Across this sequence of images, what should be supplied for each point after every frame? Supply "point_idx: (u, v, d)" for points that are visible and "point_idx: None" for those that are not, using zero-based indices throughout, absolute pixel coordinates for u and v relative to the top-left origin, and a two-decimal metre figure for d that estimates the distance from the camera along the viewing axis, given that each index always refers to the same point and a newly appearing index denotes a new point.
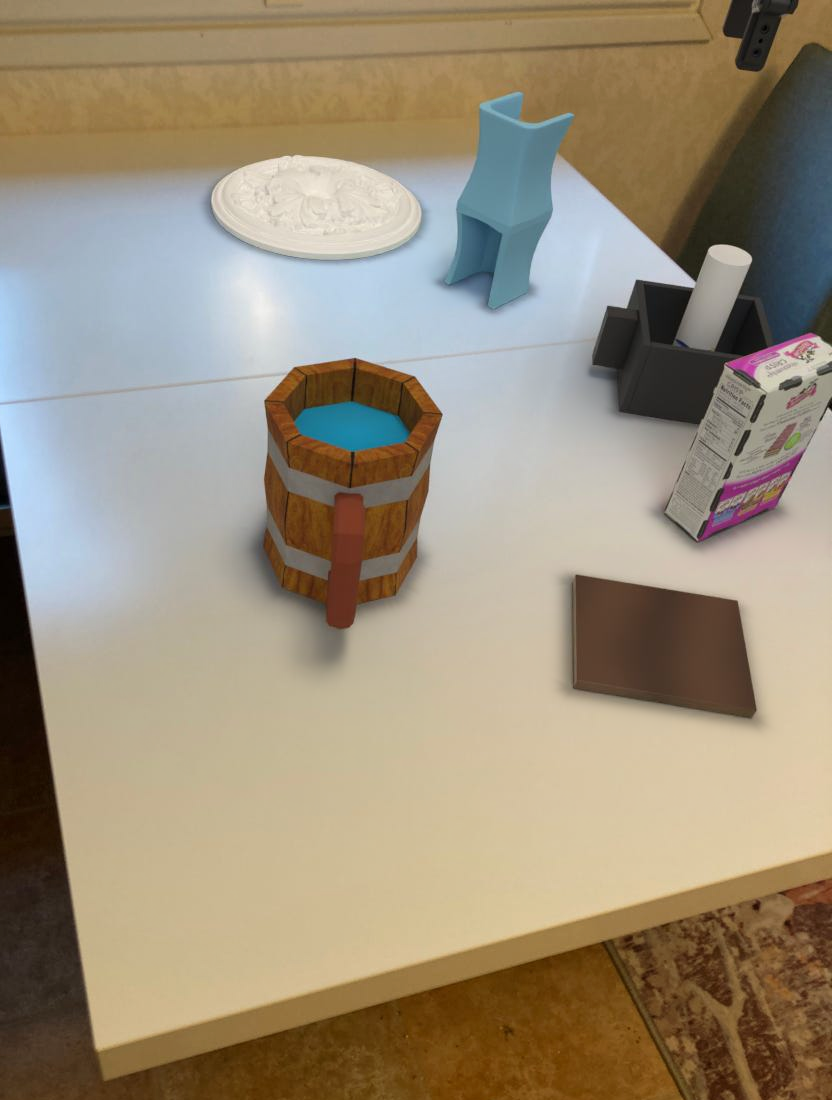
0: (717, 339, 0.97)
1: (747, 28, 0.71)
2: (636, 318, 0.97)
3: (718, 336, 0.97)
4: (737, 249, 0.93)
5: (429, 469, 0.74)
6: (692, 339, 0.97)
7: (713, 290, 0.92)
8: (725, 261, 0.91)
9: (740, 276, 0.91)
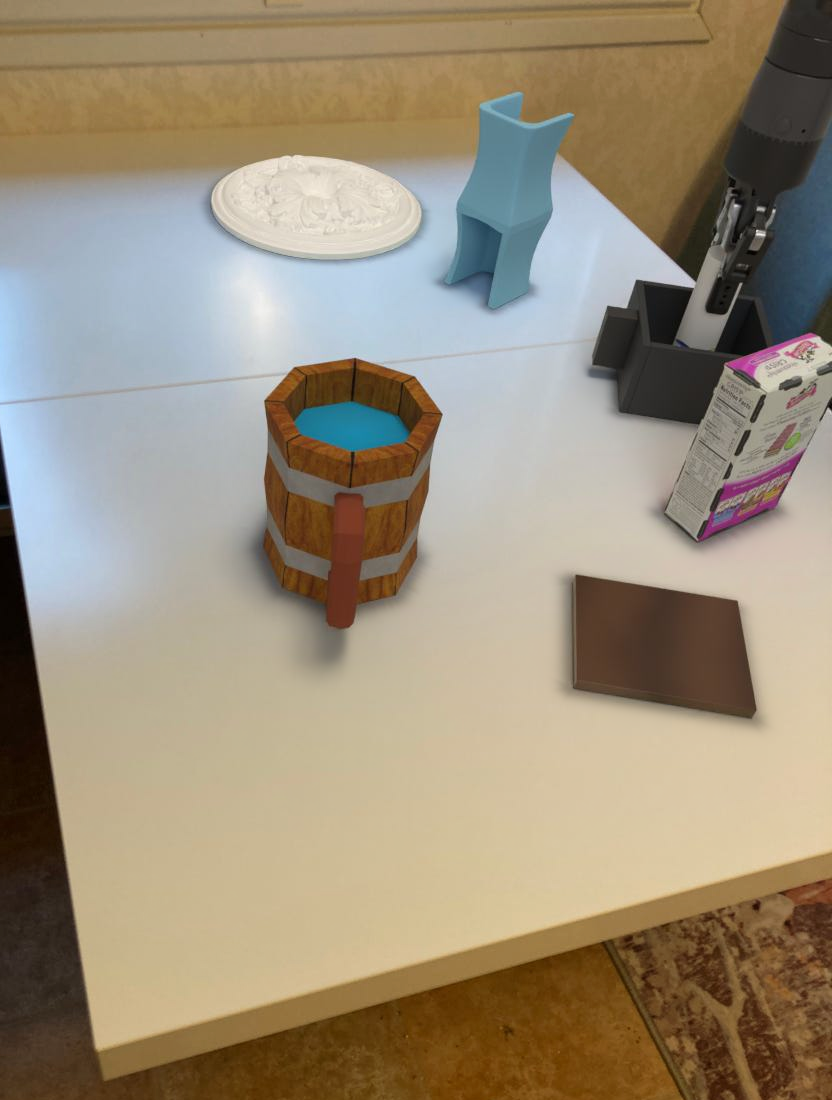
0: (717, 339, 0.97)
1: (714, 286, 0.91)
2: (636, 318, 0.97)
3: (718, 336, 0.97)
4: None
5: (429, 469, 0.74)
6: (693, 339, 0.97)
7: None
8: None
9: None
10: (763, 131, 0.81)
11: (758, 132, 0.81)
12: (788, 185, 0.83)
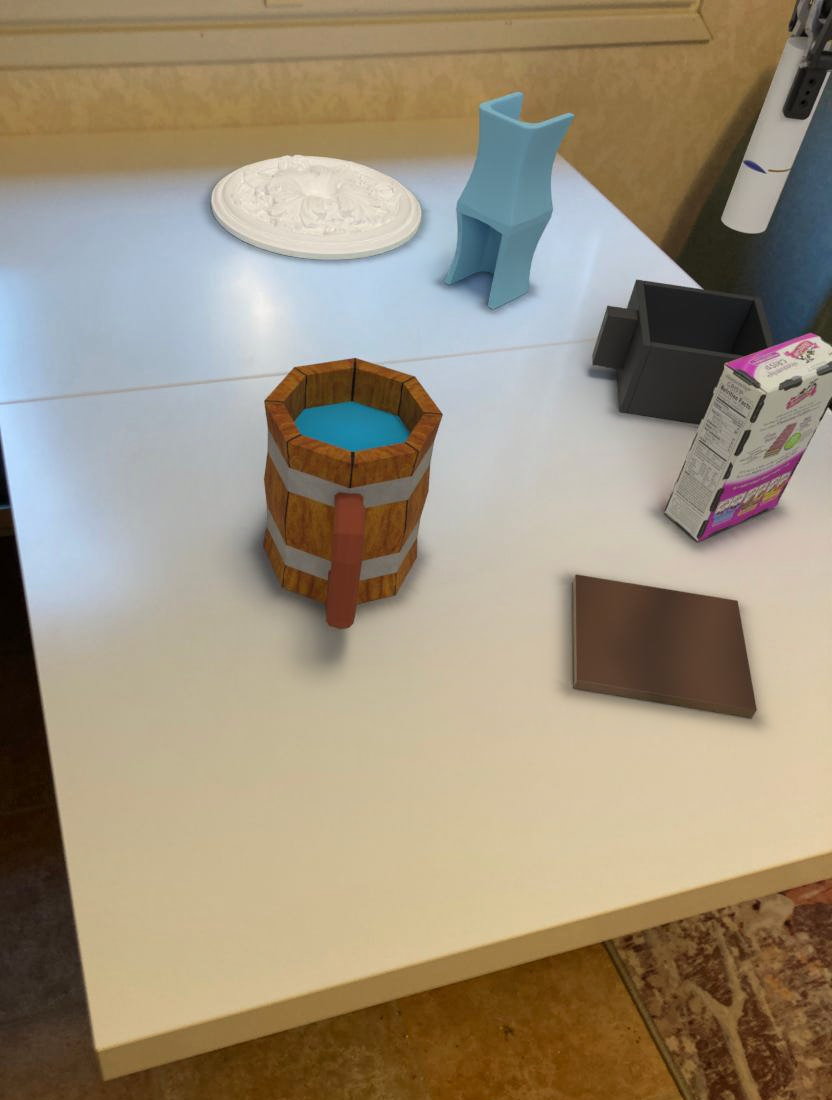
0: (793, 156, 0.83)
1: (795, 81, 0.78)
2: (636, 318, 0.97)
3: (795, 152, 0.83)
4: None
5: (429, 469, 0.74)
6: (765, 155, 0.83)
7: None
8: None
9: None
10: None
11: None
12: None
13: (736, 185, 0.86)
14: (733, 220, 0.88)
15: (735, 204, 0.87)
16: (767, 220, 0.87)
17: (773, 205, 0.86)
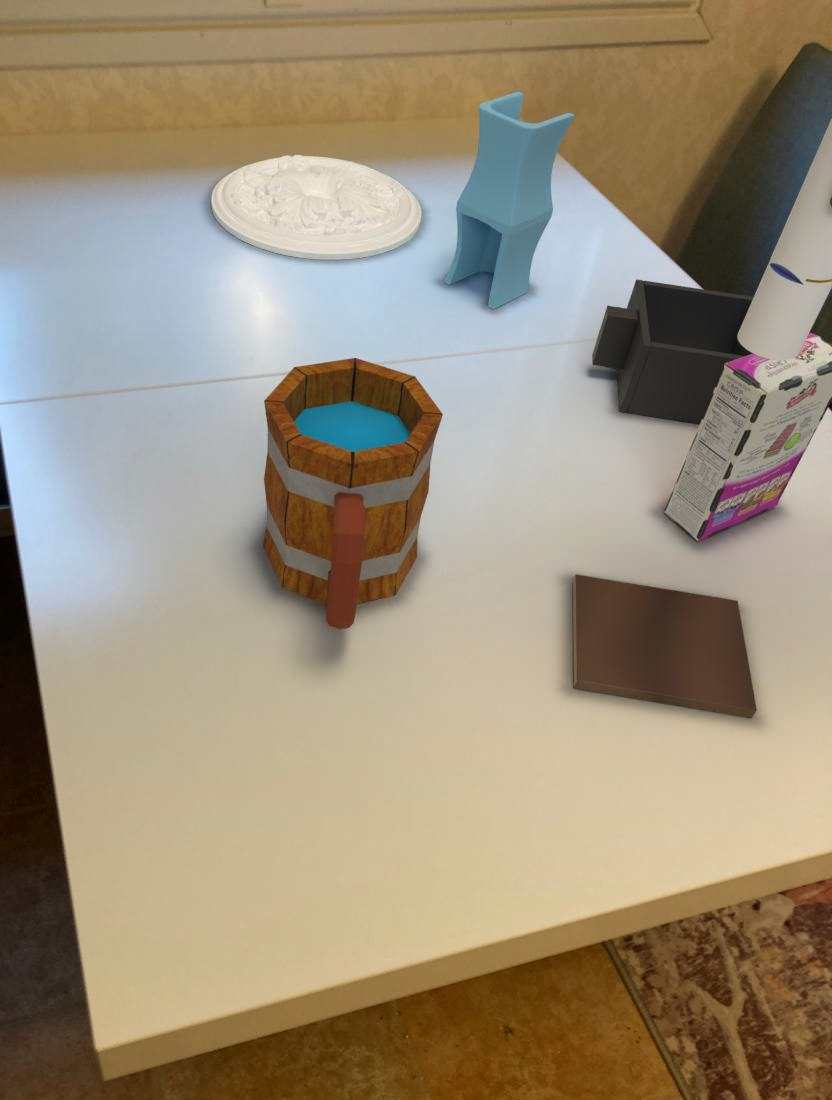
0: None
1: None
2: (636, 318, 0.97)
3: None
4: None
5: (429, 469, 0.74)
6: (802, 260, 0.58)
7: None
8: None
9: None
10: None
11: None
12: None
13: (759, 295, 0.62)
14: (754, 341, 0.63)
15: (757, 320, 0.62)
16: (801, 343, 0.63)
17: (810, 324, 0.62)
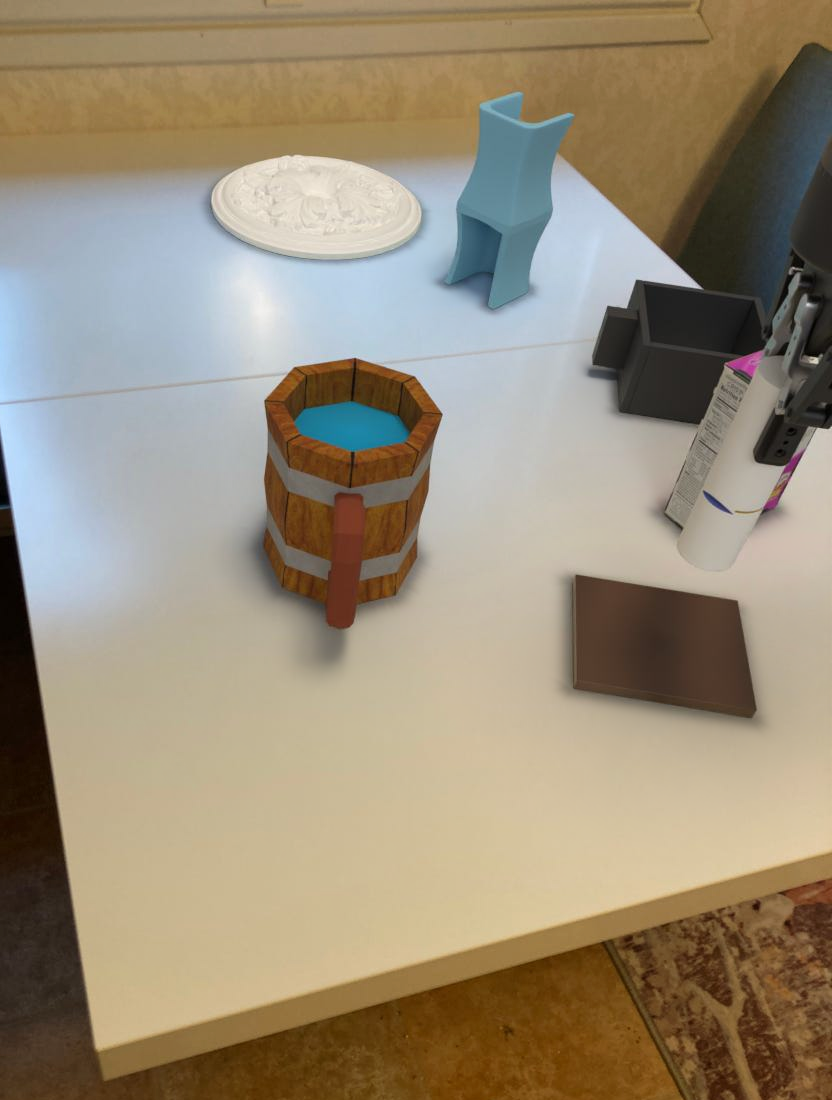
0: (768, 495, 0.63)
1: (769, 425, 0.57)
2: (636, 318, 0.97)
3: (770, 491, 0.62)
4: None
5: (429, 469, 0.74)
6: (730, 495, 0.62)
7: None
8: None
9: None
10: None
11: None
12: None
13: (694, 516, 0.66)
14: (691, 555, 0.67)
15: (693, 537, 0.66)
16: (735, 556, 0.67)
17: (743, 542, 0.66)
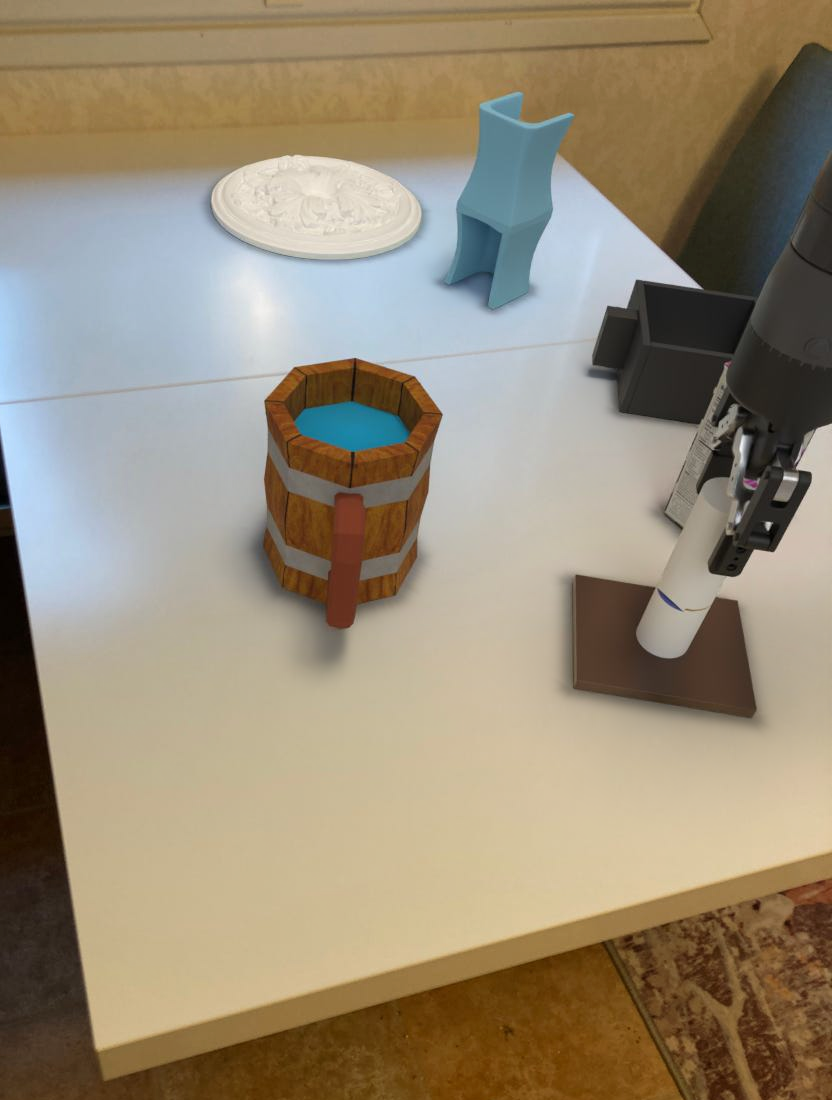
0: (715, 595, 0.70)
1: (721, 542, 0.62)
2: (636, 318, 0.97)
3: (716, 592, 0.70)
4: None
5: (429, 469, 0.74)
6: (681, 596, 0.70)
7: (708, 543, 0.66)
8: (725, 509, 0.64)
9: None
10: (787, 351, 0.53)
11: (778, 350, 0.53)
12: (823, 421, 0.56)
13: (650, 609, 0.73)
14: (648, 643, 0.74)
15: (649, 628, 0.74)
16: (688, 645, 0.74)
17: (694, 633, 0.73)
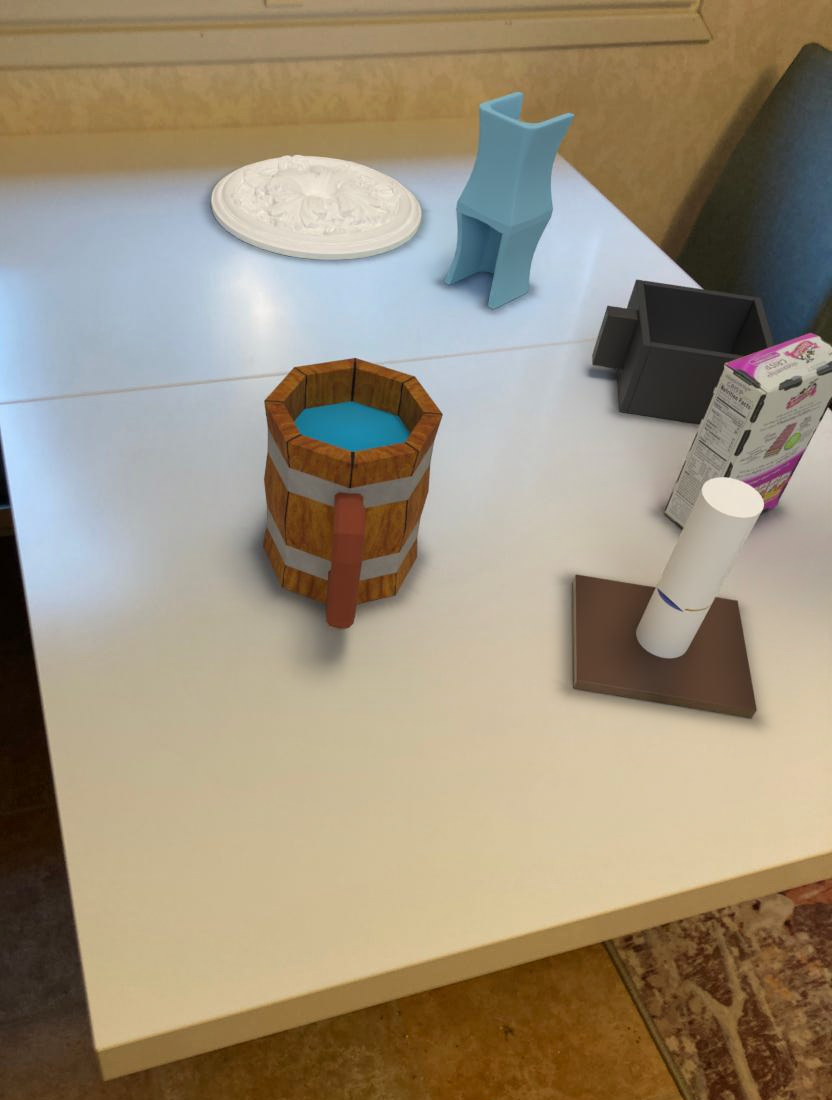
0: (715, 595, 0.70)
1: None
2: (636, 318, 0.97)
3: (716, 592, 0.70)
4: (743, 485, 0.66)
5: (429, 469, 0.74)
6: (681, 596, 0.70)
7: (708, 543, 0.66)
8: (725, 509, 0.64)
9: (747, 528, 0.64)
10: None
11: None
12: None
13: (650, 609, 0.73)
14: (648, 643, 0.74)
15: (649, 628, 0.74)
16: (688, 645, 0.74)
17: (694, 633, 0.73)
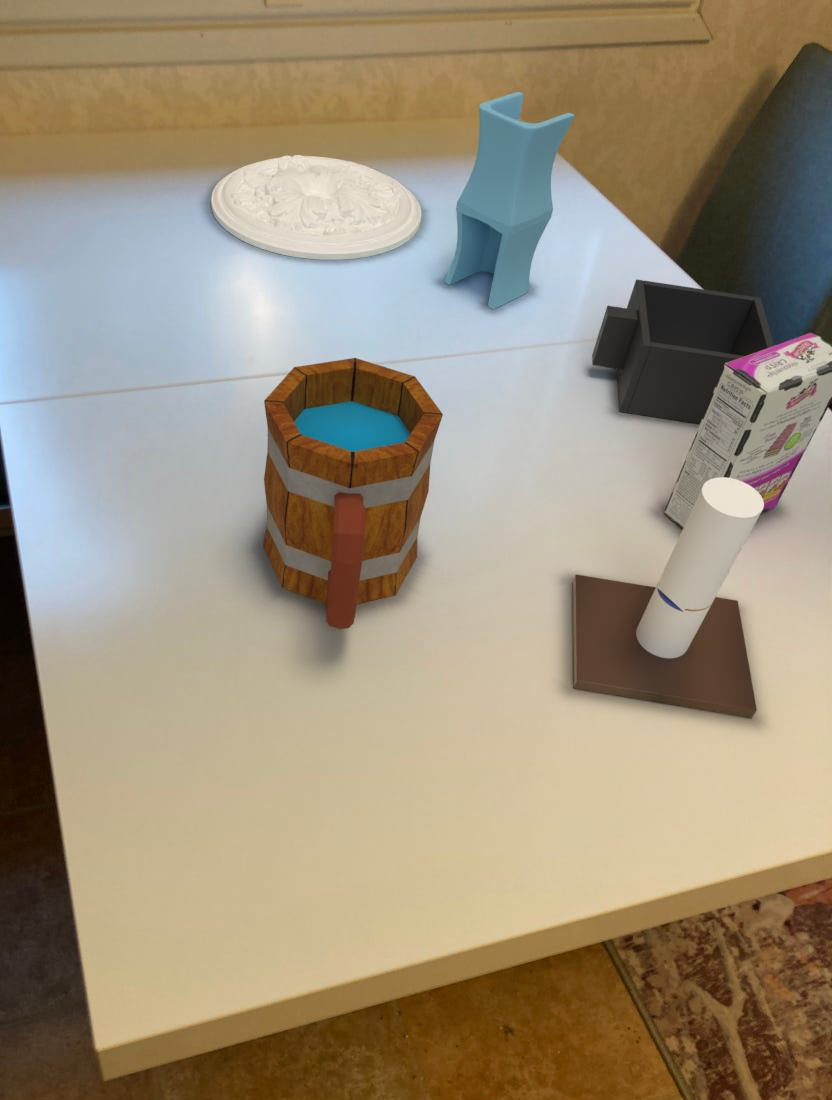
0: (715, 595, 0.70)
1: None
2: (636, 318, 0.97)
3: (716, 592, 0.70)
4: (743, 485, 0.66)
5: (429, 469, 0.74)
6: (681, 596, 0.70)
7: (708, 543, 0.66)
8: (725, 509, 0.64)
9: (747, 528, 0.64)
10: None
11: None
12: None
13: (650, 609, 0.73)
14: (648, 643, 0.74)
15: (649, 628, 0.74)
16: (688, 645, 0.74)
17: (694, 633, 0.73)
